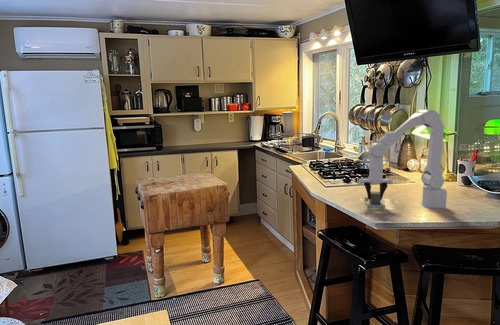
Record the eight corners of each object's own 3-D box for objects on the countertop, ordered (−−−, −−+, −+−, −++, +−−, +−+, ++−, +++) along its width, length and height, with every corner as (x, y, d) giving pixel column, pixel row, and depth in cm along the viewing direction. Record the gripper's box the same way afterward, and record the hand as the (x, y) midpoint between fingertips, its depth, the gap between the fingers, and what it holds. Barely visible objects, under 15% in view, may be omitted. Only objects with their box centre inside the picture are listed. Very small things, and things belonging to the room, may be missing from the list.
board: (393, 199, 179) (394, 198, 179) (404, 210, 162) (404, 209, 162) (358, 199, 181) (359, 198, 181) (365, 209, 164) (365, 209, 164)
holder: (381, 203, 171) (381, 201, 171) (385, 208, 165) (385, 205, 164) (364, 203, 172) (364, 201, 172) (367, 207, 166) (367, 205, 165)
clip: (377, 200, 176) (377, 196, 176) (378, 202, 174) (378, 197, 174) (364, 200, 177) (364, 196, 177) (365, 201, 175) (365, 197, 175)
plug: (374, 199, 178) (375, 187, 177) (380, 206, 167) (380, 193, 166) (365, 199, 179) (366, 187, 178) (370, 206, 167) (371, 193, 166)
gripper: (360, 171, 163) (359, 201, 165) (395, 171, 161) (393, 201, 164) (358, 168, 170) (357, 197, 172) (391, 168, 168) (389, 197, 170)
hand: (374, 199), depth 168 cm, fingers open, 4 cm apart
